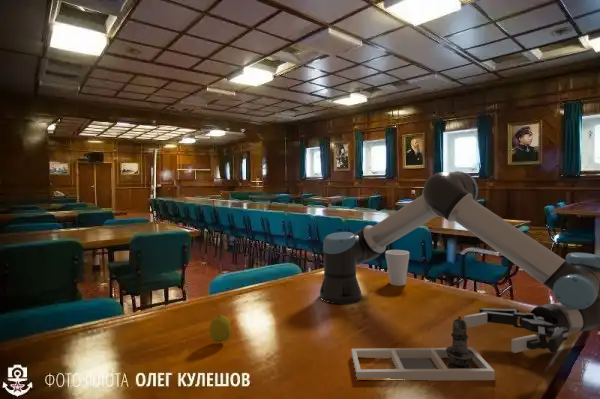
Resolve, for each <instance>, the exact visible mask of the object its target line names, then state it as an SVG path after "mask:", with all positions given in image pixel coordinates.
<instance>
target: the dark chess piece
mask: <svg viewBox="0 0 600 399" xmlns="http://www.w3.org/2000/svg"><path fill="white" fill-rule="evenodd" d="M467 328H468V327H467V325H466V322H465V321H464V319H462V317H461V316H460V315H459V316H458V317H457V319H454V320H453V322H452V333H451V334H450V335H451V337H452V344H451V346H448V347H446V348H447V349H446V353H447V355H448V358H447V359H448V360H449V361H448V363H447V365H446V367H447V368H448V369H473V367H472V366H471V365H470V364H471V363H472V362H473V360H472V358H473V357H474V353H473V352H472V351H471V350H469V349H468V348H469V347H468V343H467V342H468V339H469V335H467V334H468V333H467V332H468V331H467Z"/></svg>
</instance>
